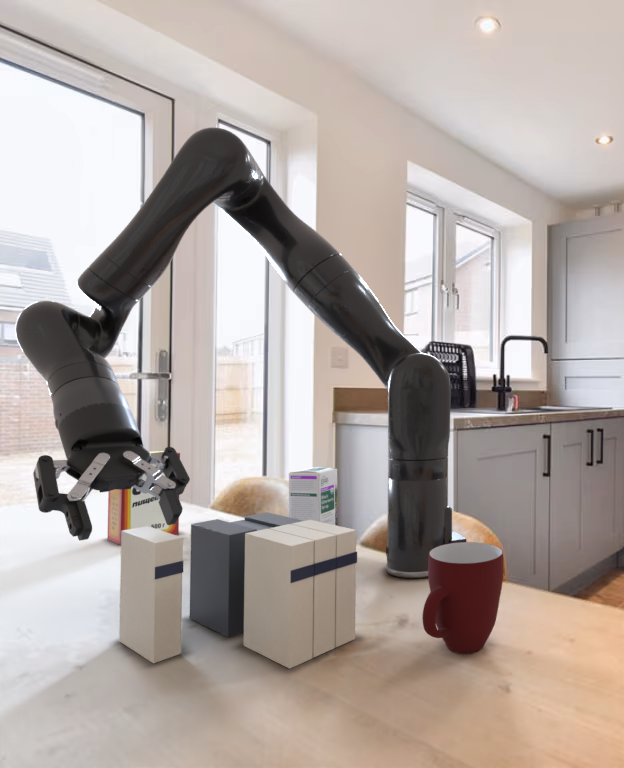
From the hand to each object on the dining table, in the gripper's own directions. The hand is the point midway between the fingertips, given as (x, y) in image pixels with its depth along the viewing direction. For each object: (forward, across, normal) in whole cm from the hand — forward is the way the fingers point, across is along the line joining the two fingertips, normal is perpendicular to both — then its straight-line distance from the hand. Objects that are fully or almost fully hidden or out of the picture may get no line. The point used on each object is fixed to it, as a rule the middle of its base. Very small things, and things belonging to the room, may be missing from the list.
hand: (132, 527), depth 60 cm
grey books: (+12, +11, +5) cm, 17 cm away
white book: (+12, 0, +5) cm, 13 cm away
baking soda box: (-24, +19, +41) cm, 51 cm away
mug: (+31, +19, -14) cm, 39 cm away
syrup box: (+2, +30, +16) cm, 34 cm away
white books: (+20, +10, -3) cm, 23 cm away
